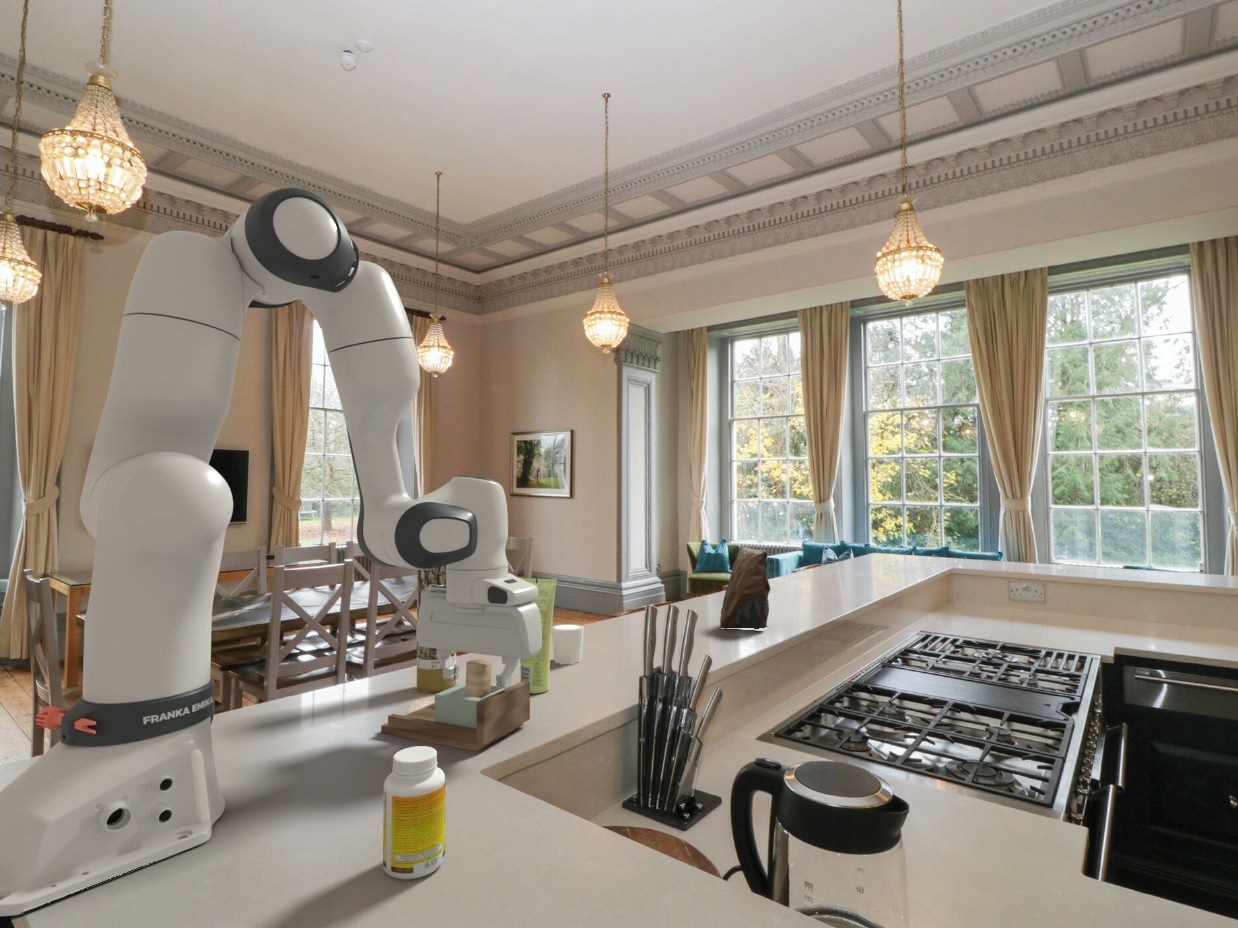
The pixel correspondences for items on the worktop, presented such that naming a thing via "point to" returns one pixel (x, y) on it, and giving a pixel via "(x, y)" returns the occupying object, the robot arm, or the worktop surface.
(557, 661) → the white short cylinder
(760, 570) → the brown rock
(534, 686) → the tube
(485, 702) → the wooden tray
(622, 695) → the worktop surface
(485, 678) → the dowel
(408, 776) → the supplement bottle
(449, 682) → the paper tube
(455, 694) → the socket block
